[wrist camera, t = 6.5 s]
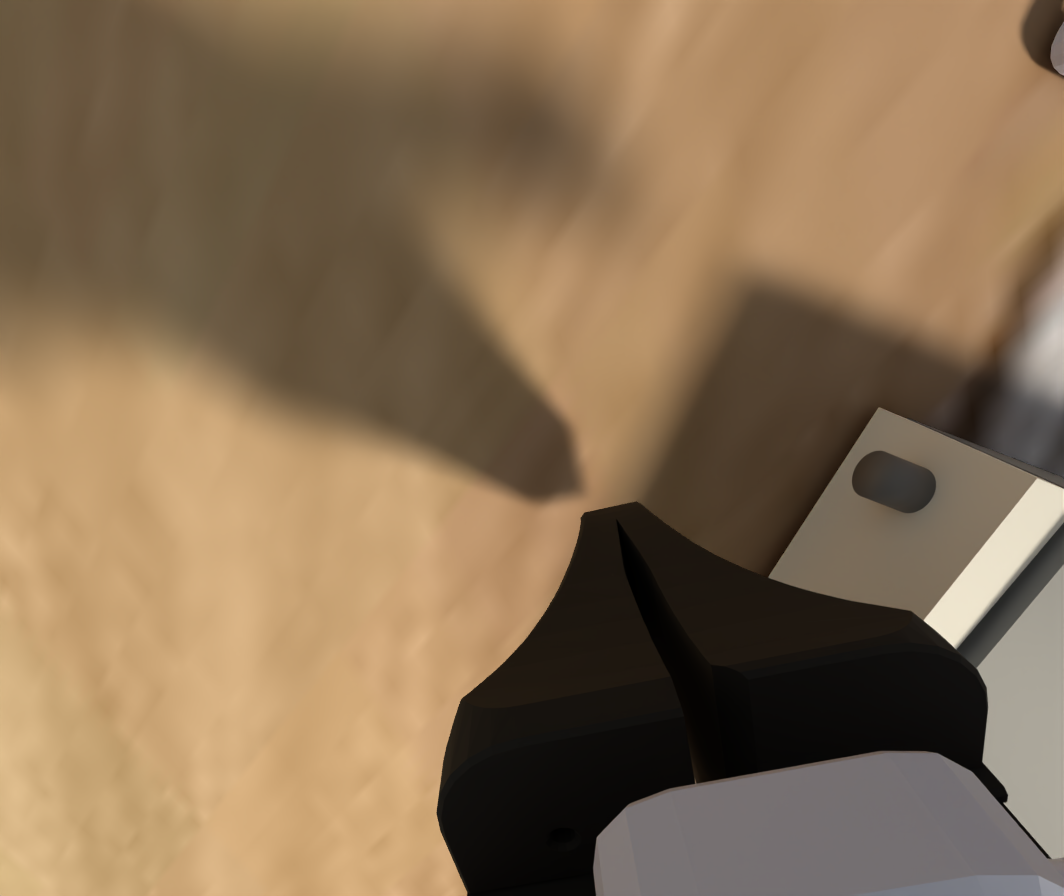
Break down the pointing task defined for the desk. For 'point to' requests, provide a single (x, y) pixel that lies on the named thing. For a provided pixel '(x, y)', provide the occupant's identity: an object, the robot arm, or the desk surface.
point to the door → (922, 527)
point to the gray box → (1026, 683)
